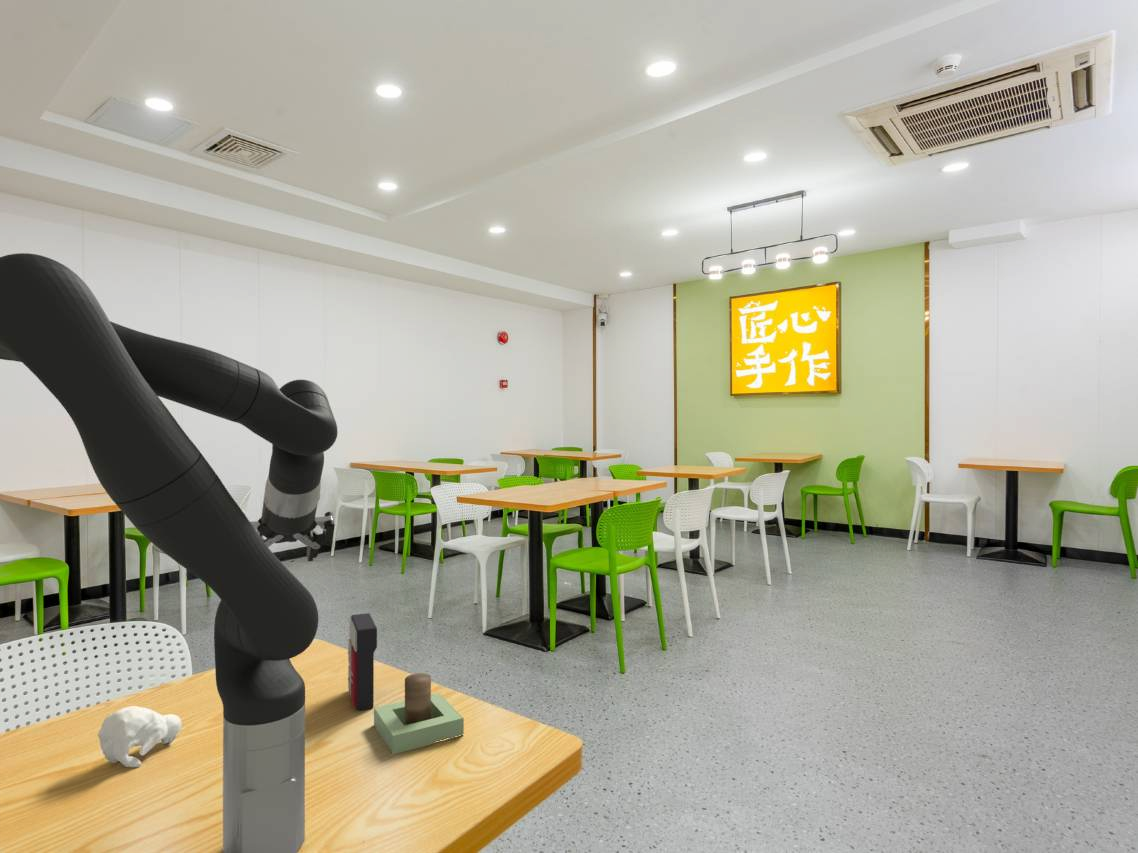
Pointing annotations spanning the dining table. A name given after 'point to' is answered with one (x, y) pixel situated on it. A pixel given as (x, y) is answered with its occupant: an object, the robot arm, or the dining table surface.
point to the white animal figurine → (135, 733)
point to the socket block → (417, 725)
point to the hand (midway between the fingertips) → (281, 559)
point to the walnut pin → (417, 698)
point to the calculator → (361, 660)
